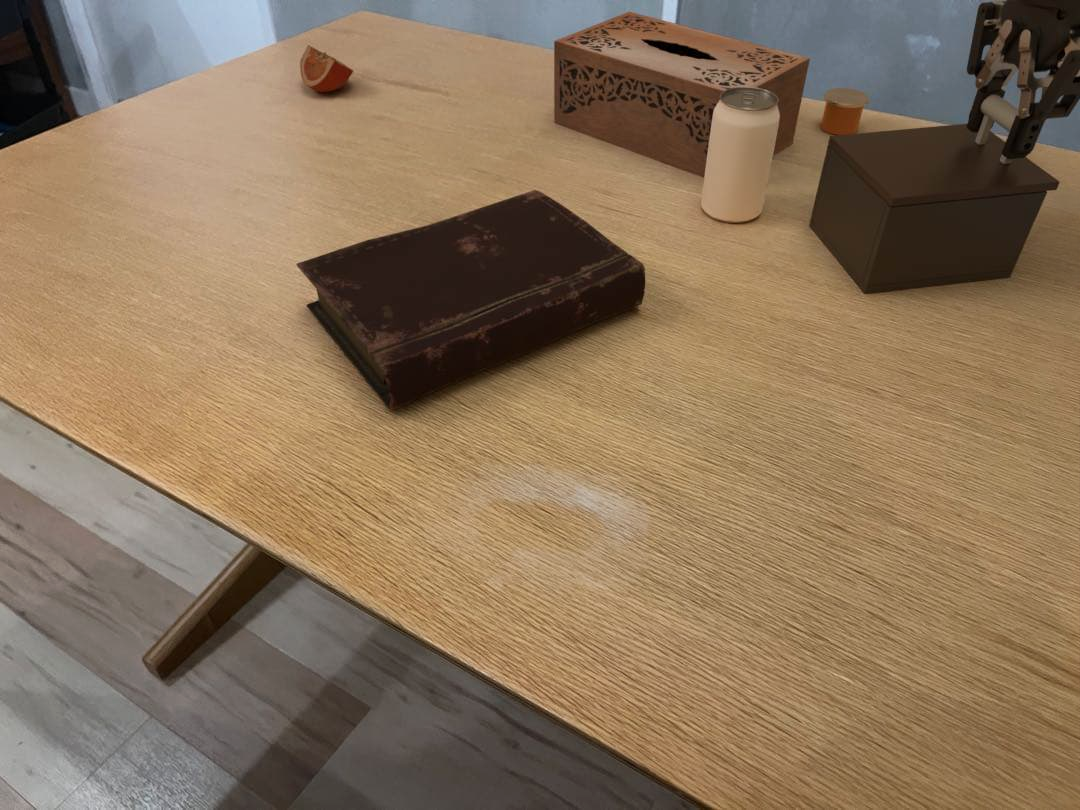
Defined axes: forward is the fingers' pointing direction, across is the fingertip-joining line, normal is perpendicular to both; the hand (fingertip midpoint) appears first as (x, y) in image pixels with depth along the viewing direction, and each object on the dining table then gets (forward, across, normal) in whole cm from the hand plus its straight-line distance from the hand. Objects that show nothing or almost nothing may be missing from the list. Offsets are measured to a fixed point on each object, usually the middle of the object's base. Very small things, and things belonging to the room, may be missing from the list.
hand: (995, 142), depth 74 cm
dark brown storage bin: (+11, 0, +6) cm, 12 cm away
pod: (+11, +28, 0) cm, 30 cm away
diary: (+11, -2, +49) cm, 50 cm away
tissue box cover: (+11, +31, +20) cm, 39 cm away
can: (+11, +11, +20) cm, 25 cm away
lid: (+2, 0, +5) cm, 5 cm away
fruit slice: (+11, +54, +63) cm, 83 cm away
